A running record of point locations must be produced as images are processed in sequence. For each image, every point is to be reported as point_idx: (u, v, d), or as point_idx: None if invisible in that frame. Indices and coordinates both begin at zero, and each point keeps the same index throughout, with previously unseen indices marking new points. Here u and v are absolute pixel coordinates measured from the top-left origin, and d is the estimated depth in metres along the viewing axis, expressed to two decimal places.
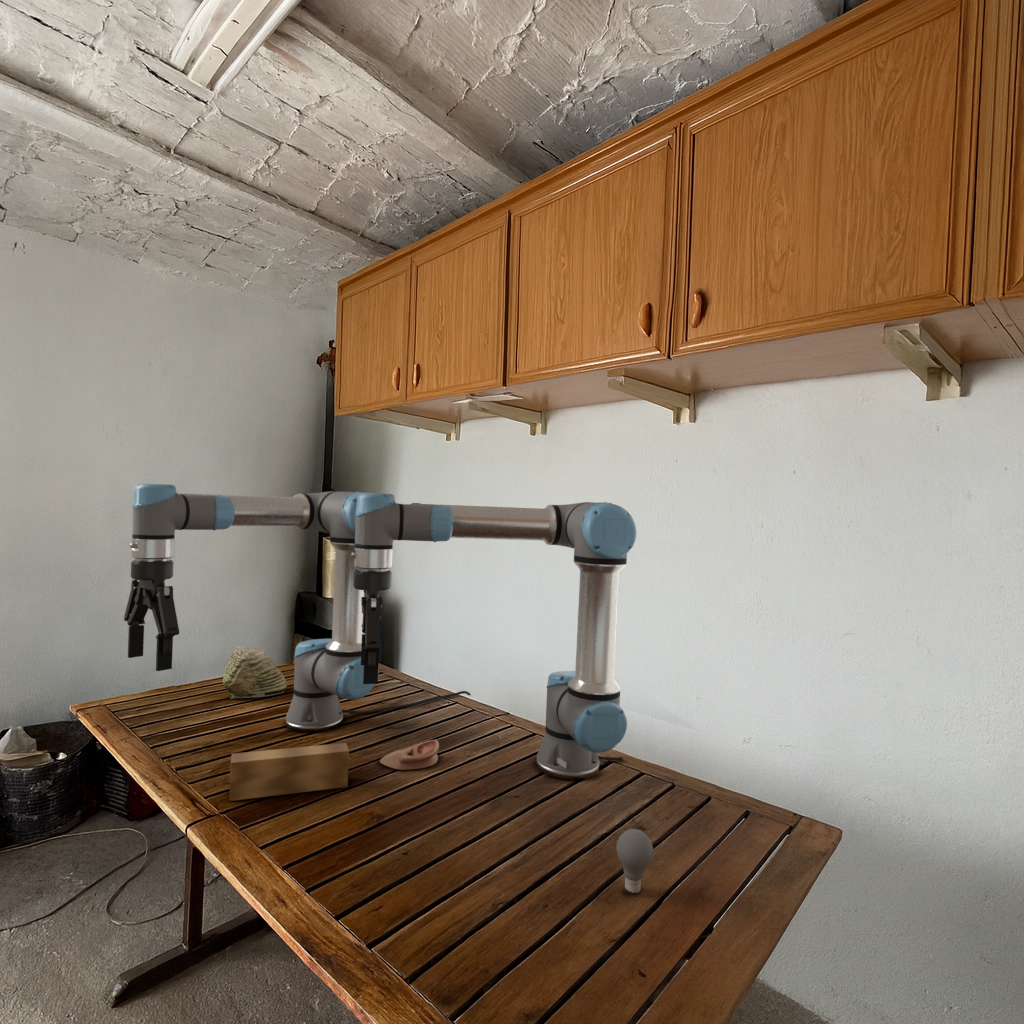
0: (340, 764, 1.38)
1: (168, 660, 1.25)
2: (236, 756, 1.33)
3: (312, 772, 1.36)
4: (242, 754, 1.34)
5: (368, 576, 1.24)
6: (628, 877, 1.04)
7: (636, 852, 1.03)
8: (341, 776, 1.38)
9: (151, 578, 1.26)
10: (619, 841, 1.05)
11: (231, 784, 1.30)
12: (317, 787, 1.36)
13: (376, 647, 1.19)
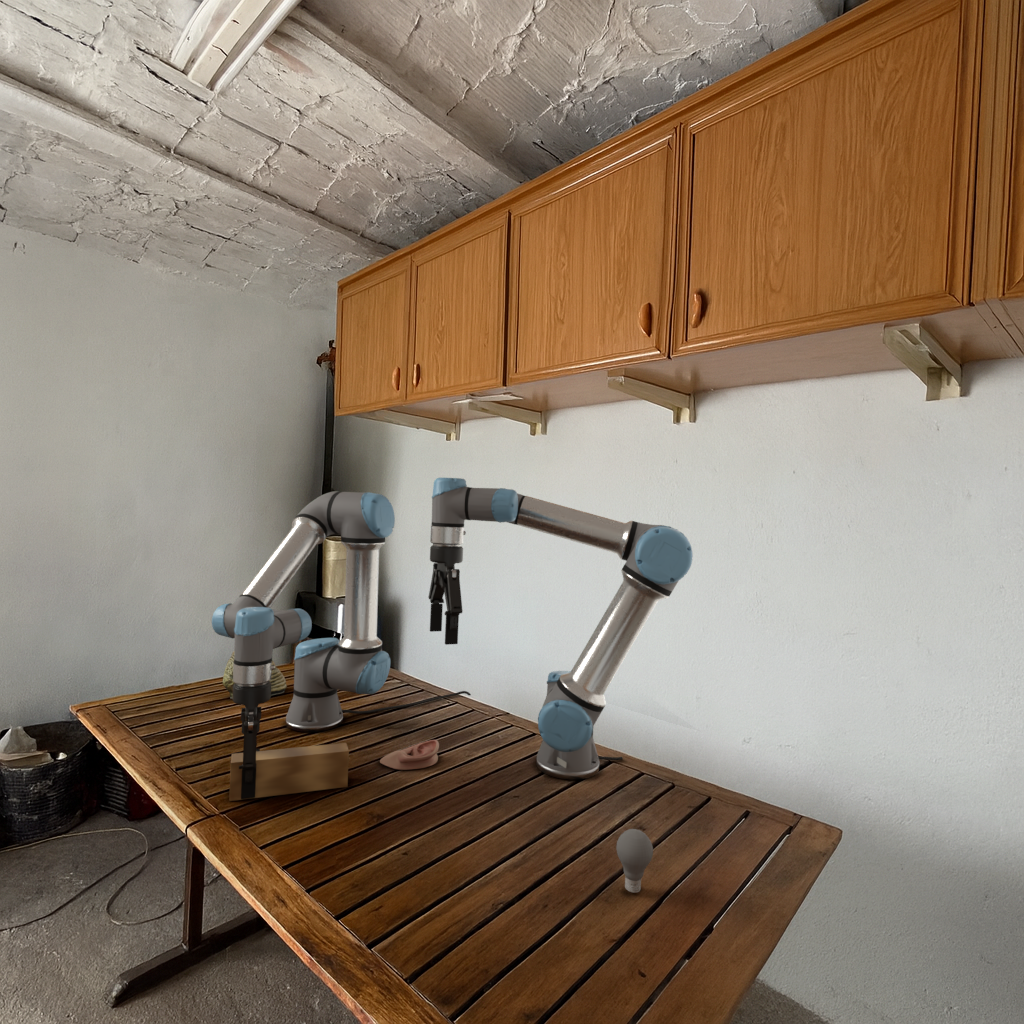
0: (340, 764, 1.38)
1: None
2: (236, 756, 1.33)
3: (312, 772, 1.36)
4: (242, 754, 1.34)
5: None
6: (628, 877, 1.04)
7: (636, 852, 1.03)
8: (341, 776, 1.38)
9: None
10: (619, 841, 1.05)
11: (231, 784, 1.30)
12: (317, 787, 1.36)
13: None
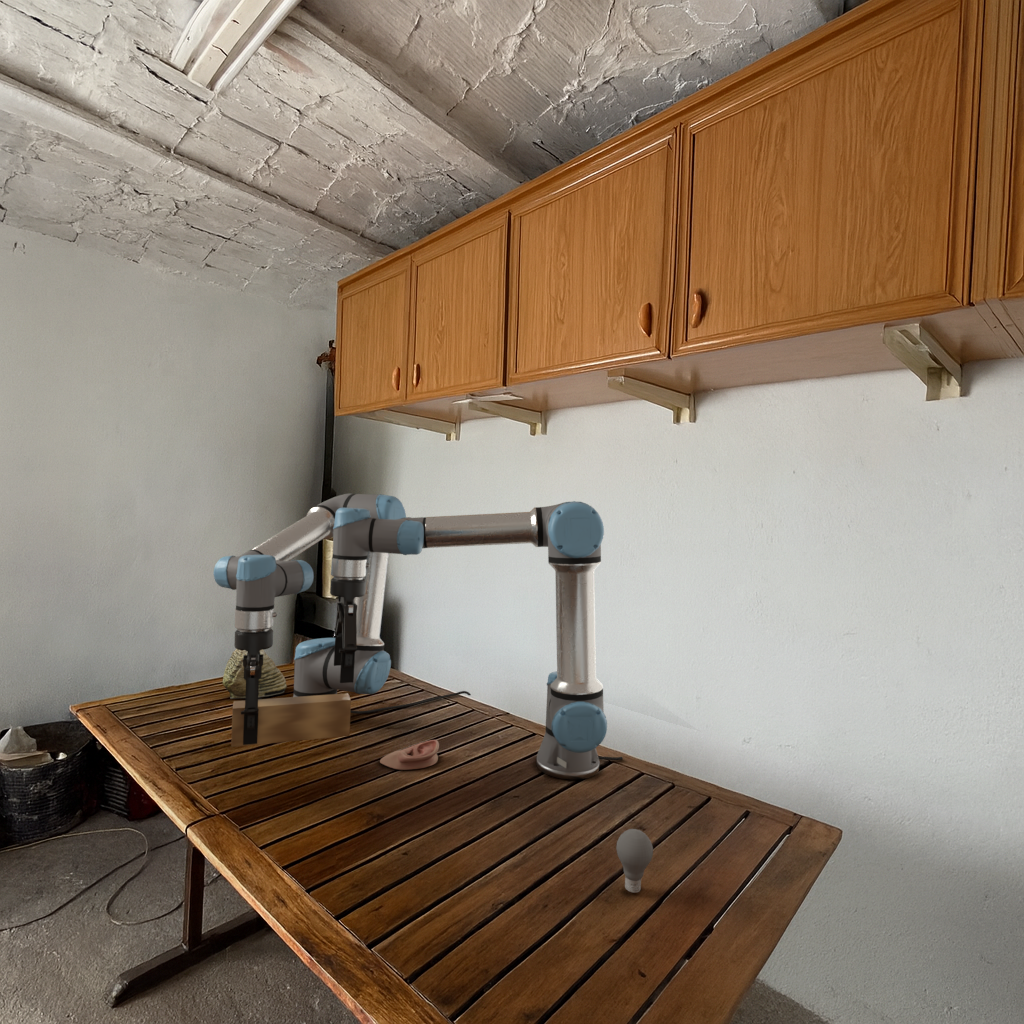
0: (342, 713, 1.38)
1: None
2: (238, 703, 1.33)
3: (314, 720, 1.36)
4: (244, 701, 1.34)
5: None
6: (628, 877, 1.04)
7: (636, 852, 1.03)
8: (343, 725, 1.38)
9: None
10: (619, 841, 1.05)
11: (233, 730, 1.30)
12: (319, 735, 1.36)
13: None
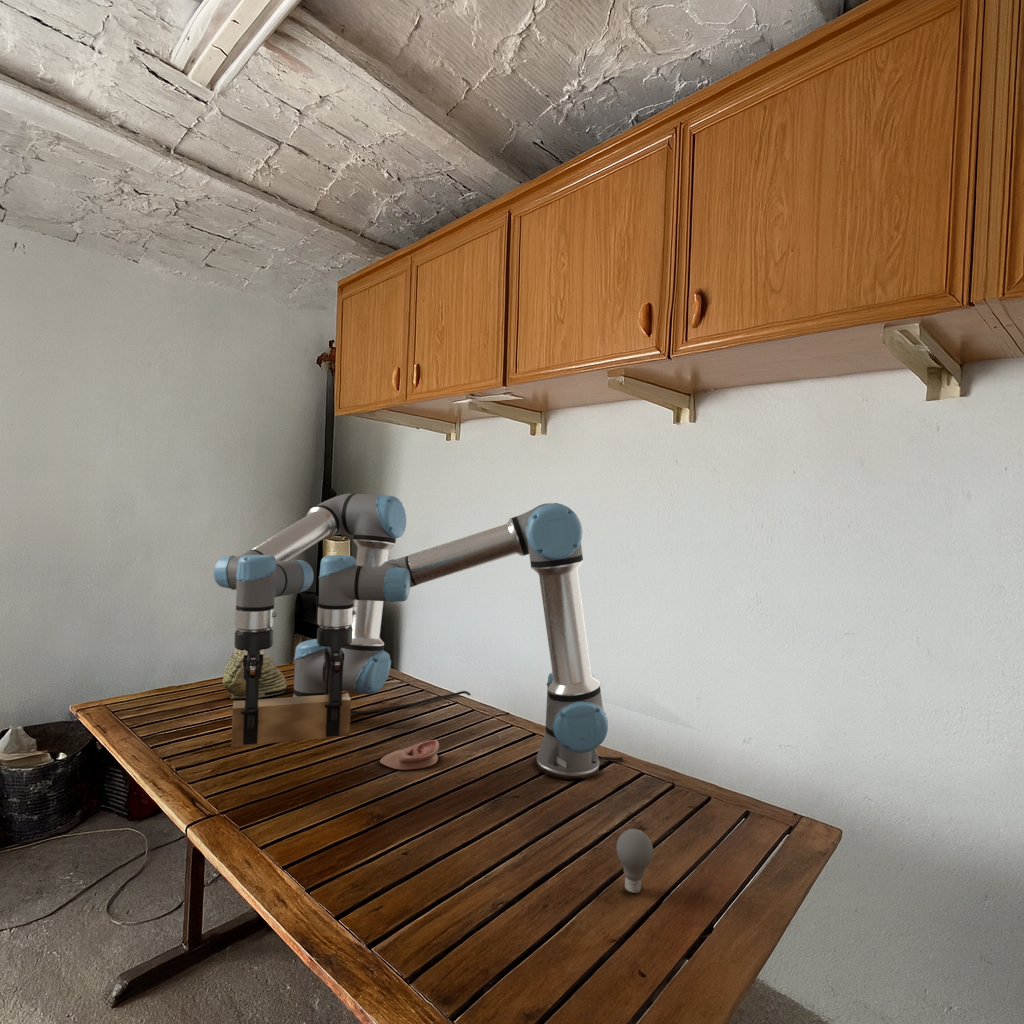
0: (342, 713, 1.38)
1: None
2: (238, 703, 1.33)
3: (314, 720, 1.36)
4: (244, 701, 1.34)
5: None
6: (628, 877, 1.04)
7: (636, 852, 1.03)
8: (343, 725, 1.38)
9: None
10: (619, 841, 1.05)
11: (233, 730, 1.30)
12: (319, 735, 1.36)
13: None
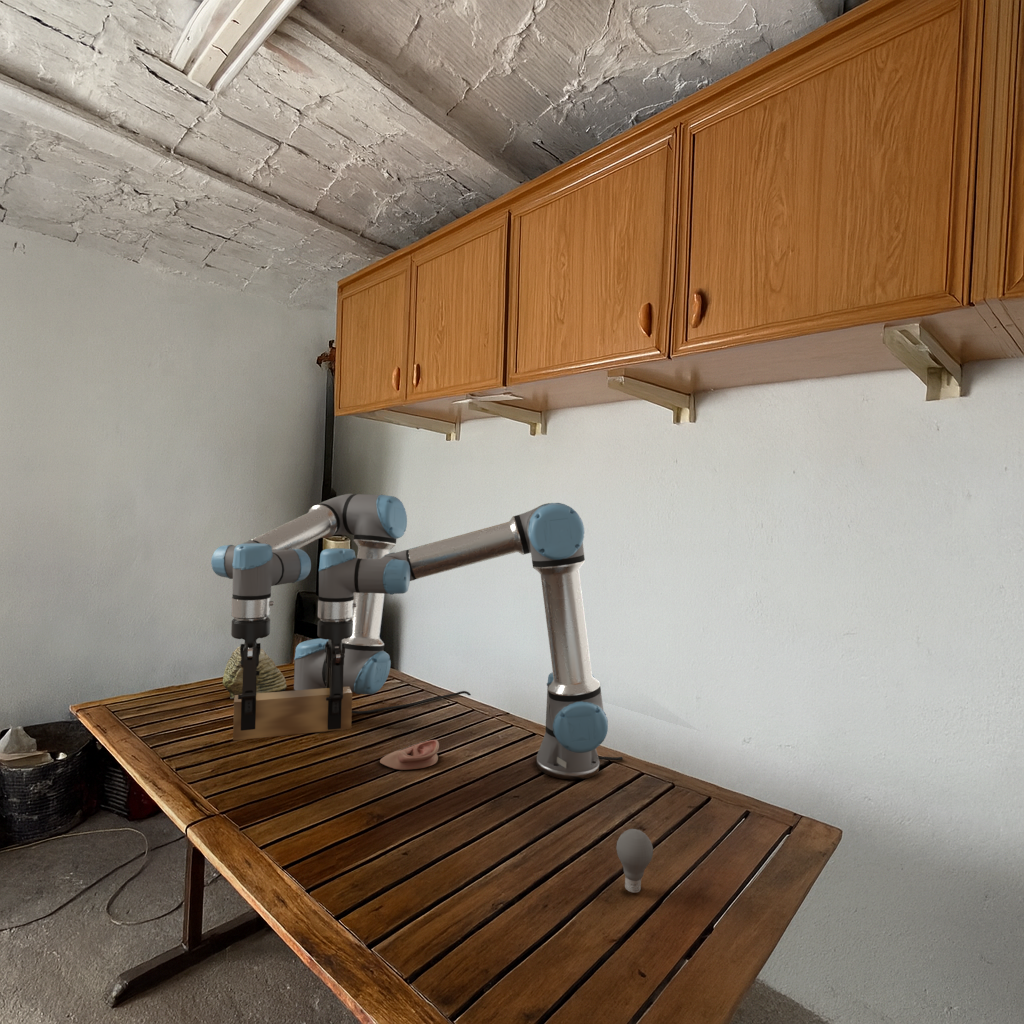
0: (343, 706, 1.38)
1: None
2: None
3: (315, 713, 1.36)
4: None
5: None
6: (628, 877, 1.04)
7: (636, 852, 1.03)
8: (344, 718, 1.38)
9: None
10: (619, 841, 1.05)
11: (235, 723, 1.30)
12: (321, 728, 1.36)
13: None
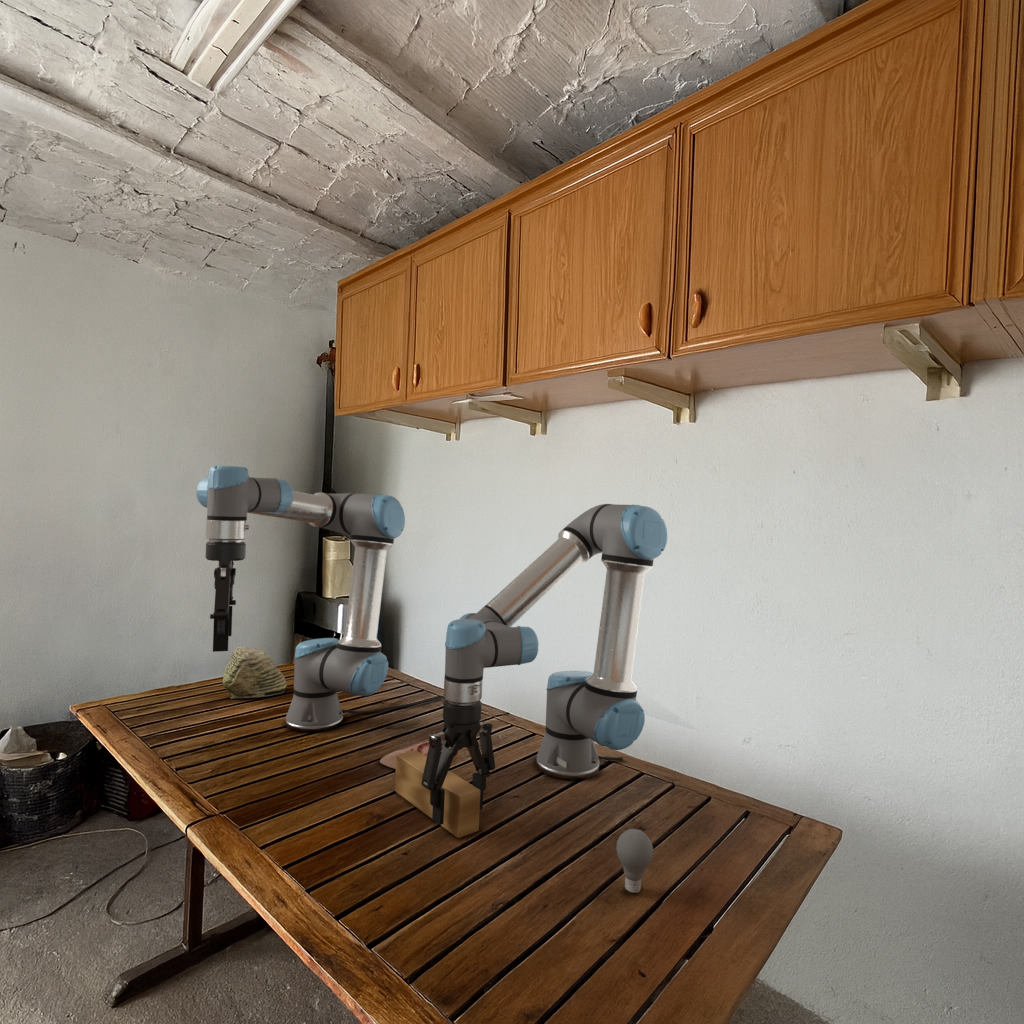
0: (454, 808, 1.21)
1: None
2: (410, 753, 1.39)
3: None
4: (416, 754, 1.38)
5: None
6: (628, 877, 1.04)
7: (636, 852, 1.03)
8: (454, 822, 1.21)
9: None
10: (619, 841, 1.05)
11: (396, 775, 1.37)
12: None
13: None
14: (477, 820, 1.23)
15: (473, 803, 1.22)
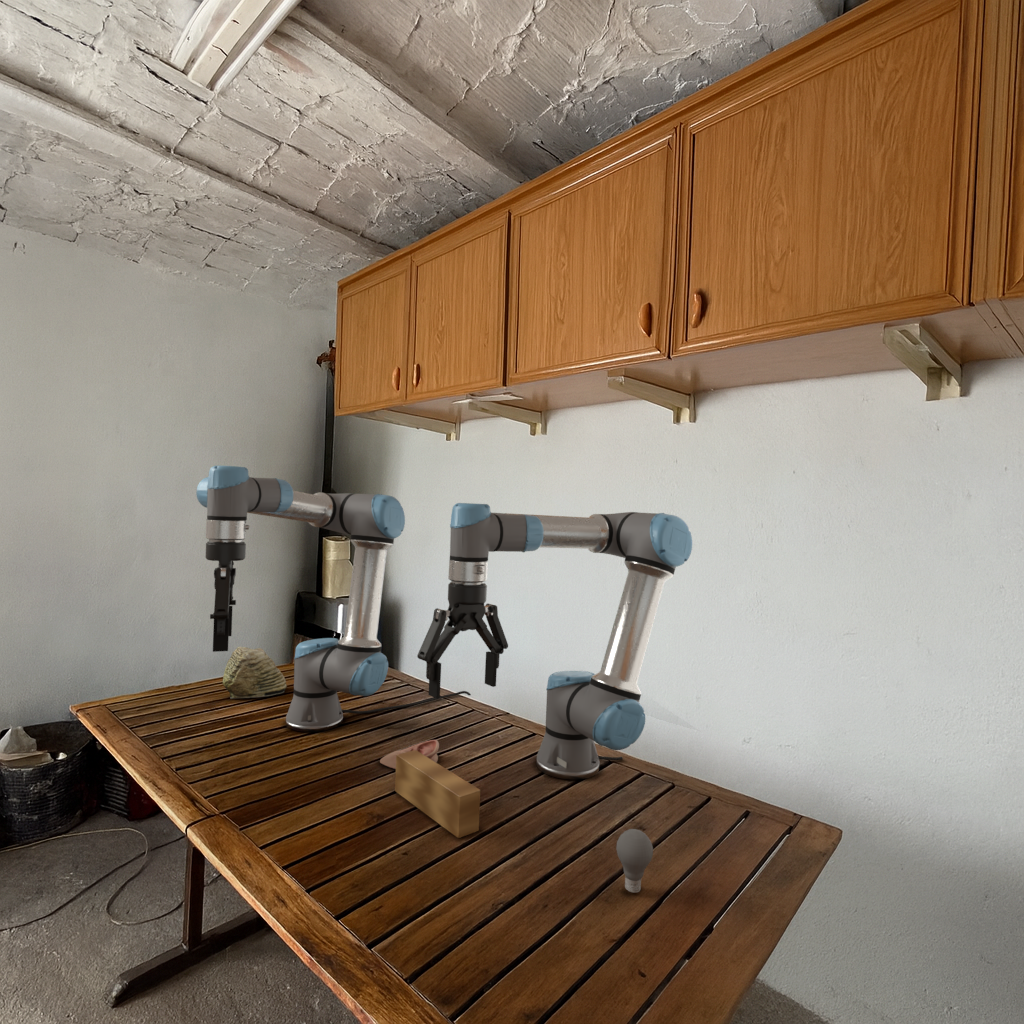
0: (454, 808, 1.21)
1: None
2: (410, 753, 1.39)
3: (437, 801, 1.25)
4: (416, 754, 1.38)
5: None
6: (628, 877, 1.04)
7: (636, 852, 1.03)
8: (454, 822, 1.21)
9: None
10: (619, 841, 1.05)
11: (396, 775, 1.37)
12: (439, 820, 1.25)
13: None
14: (477, 820, 1.23)
15: (473, 803, 1.22)
